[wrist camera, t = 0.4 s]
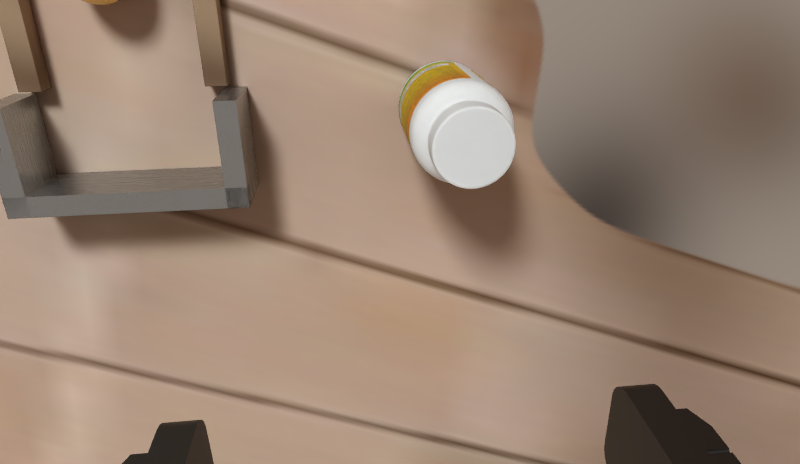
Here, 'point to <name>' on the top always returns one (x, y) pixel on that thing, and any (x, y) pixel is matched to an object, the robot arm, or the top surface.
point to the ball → (101, 2)
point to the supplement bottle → (457, 125)
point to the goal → (122, 190)
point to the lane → (10, 9)
